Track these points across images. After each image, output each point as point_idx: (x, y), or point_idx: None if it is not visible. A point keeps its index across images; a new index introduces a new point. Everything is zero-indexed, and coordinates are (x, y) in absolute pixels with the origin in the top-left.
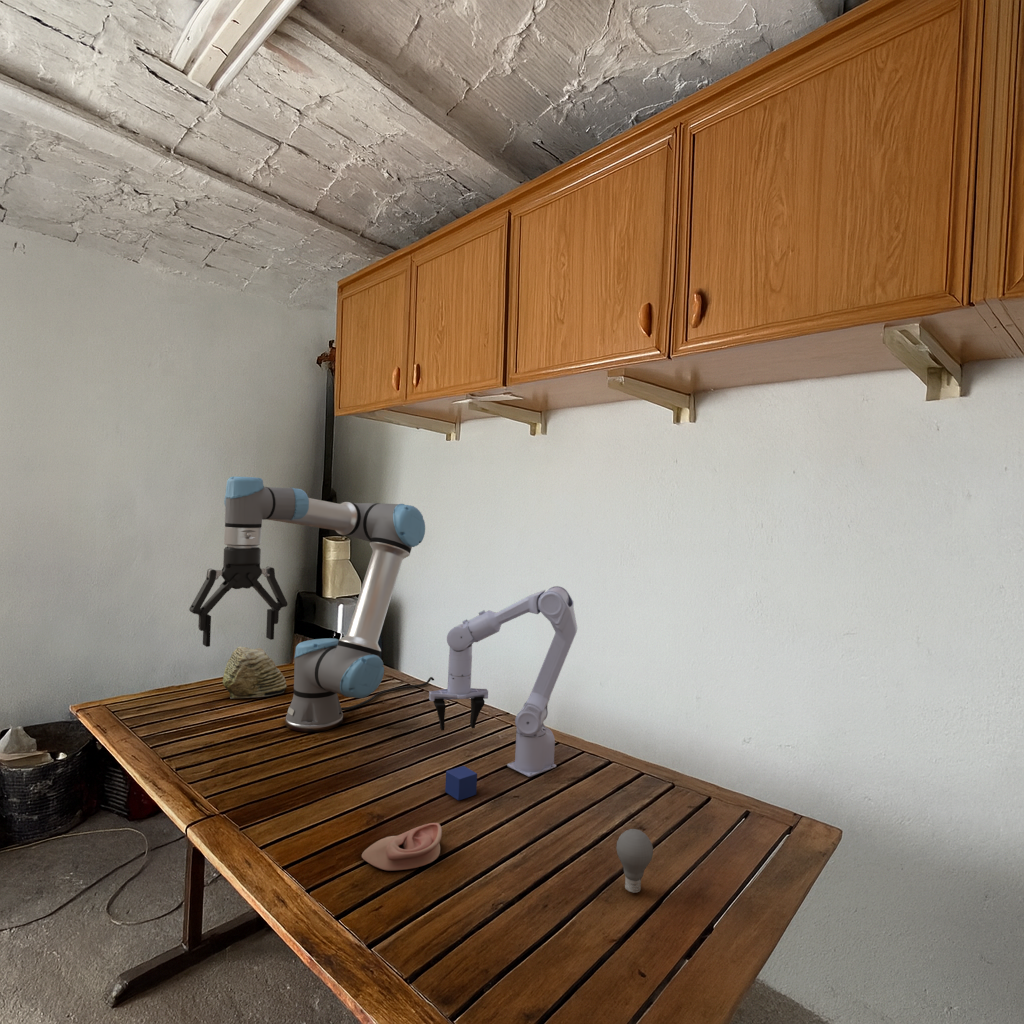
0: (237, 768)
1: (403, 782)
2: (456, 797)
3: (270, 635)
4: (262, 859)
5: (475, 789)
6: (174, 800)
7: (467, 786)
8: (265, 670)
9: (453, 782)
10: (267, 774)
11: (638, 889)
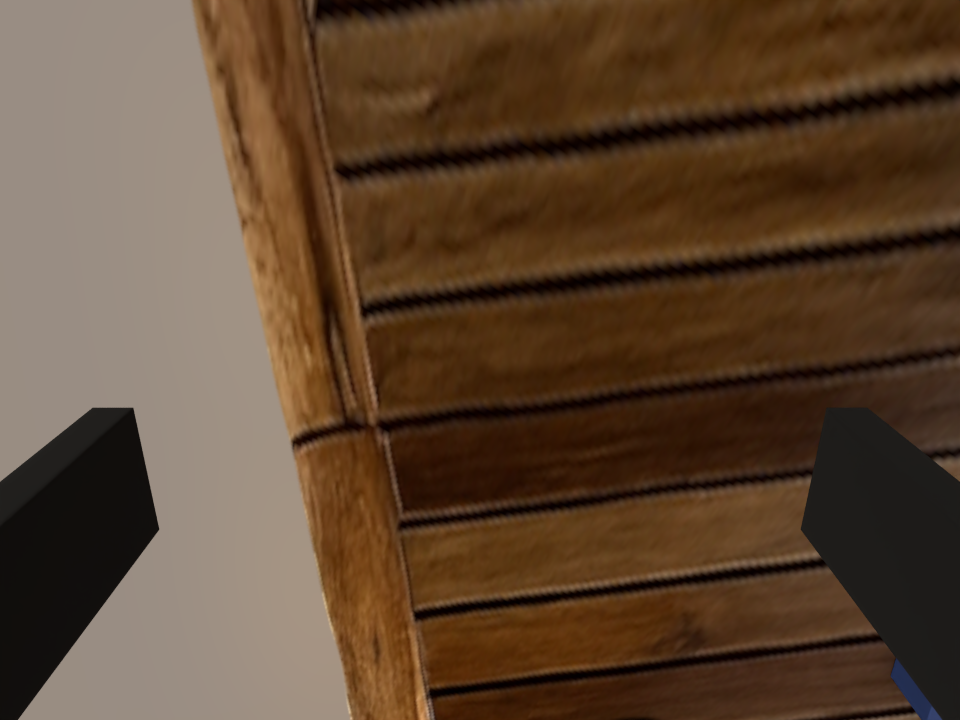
0: (513, 141)
1: None
2: (895, 673)
3: (825, 554)
4: (404, 651)
5: None
6: (278, 277)
7: None
8: None
9: (919, 690)
10: (580, 256)
11: None
